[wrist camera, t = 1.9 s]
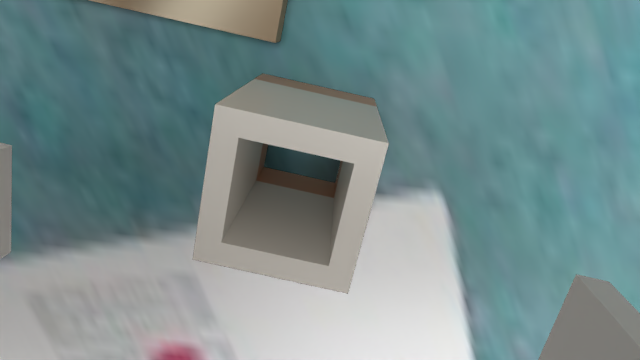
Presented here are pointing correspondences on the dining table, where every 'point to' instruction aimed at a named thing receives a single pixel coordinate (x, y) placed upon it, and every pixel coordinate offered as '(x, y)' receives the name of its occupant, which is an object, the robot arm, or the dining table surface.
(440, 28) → the dining table surface
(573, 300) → the robot arm
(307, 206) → the sleeve
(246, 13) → the pin board
